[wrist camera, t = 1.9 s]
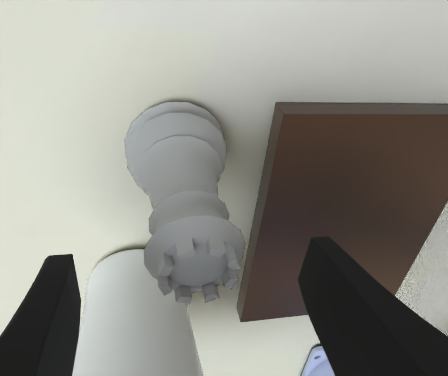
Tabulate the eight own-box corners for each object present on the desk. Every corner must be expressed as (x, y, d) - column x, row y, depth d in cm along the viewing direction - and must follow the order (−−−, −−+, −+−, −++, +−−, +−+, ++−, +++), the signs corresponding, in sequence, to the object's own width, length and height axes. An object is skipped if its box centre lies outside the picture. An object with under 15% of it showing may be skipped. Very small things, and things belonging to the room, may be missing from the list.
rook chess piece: (185, 194, 20) (212, 334, 14) (105, 154, 18) (93, 300, 12) (241, 129, 18) (300, 255, 12) (160, 75, 16) (183, 197, 10)
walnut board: (381, 292, 29) (389, 305, 28) (236, 307, 27) (240, 322, 26) (479, 103, 20) (496, 114, 19) (275, 101, 18) (283, 114, 17)
